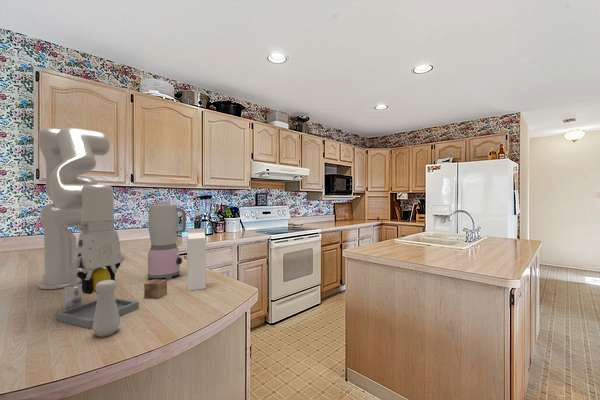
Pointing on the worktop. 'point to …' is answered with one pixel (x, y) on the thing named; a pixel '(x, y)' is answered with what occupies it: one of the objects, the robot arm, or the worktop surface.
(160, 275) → the blender
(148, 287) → the walnut block
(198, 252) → the milk
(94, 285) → the lemon
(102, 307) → the salt shaker
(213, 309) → the worktop surface
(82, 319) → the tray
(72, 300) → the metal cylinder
